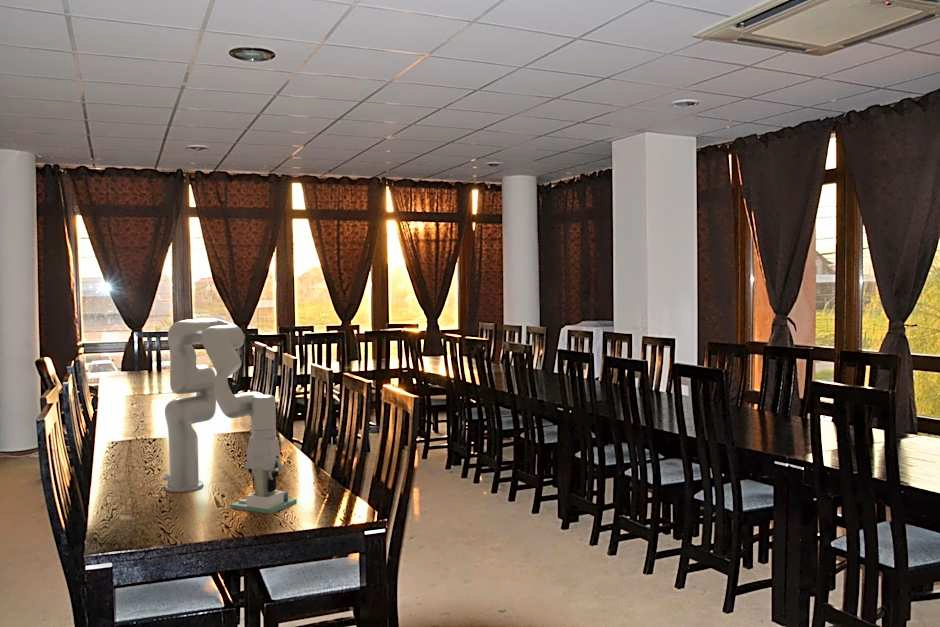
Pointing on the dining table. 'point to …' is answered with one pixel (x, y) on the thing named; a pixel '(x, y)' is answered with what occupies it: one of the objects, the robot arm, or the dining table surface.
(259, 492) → the box
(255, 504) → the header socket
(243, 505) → the board
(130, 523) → the dining table surface
